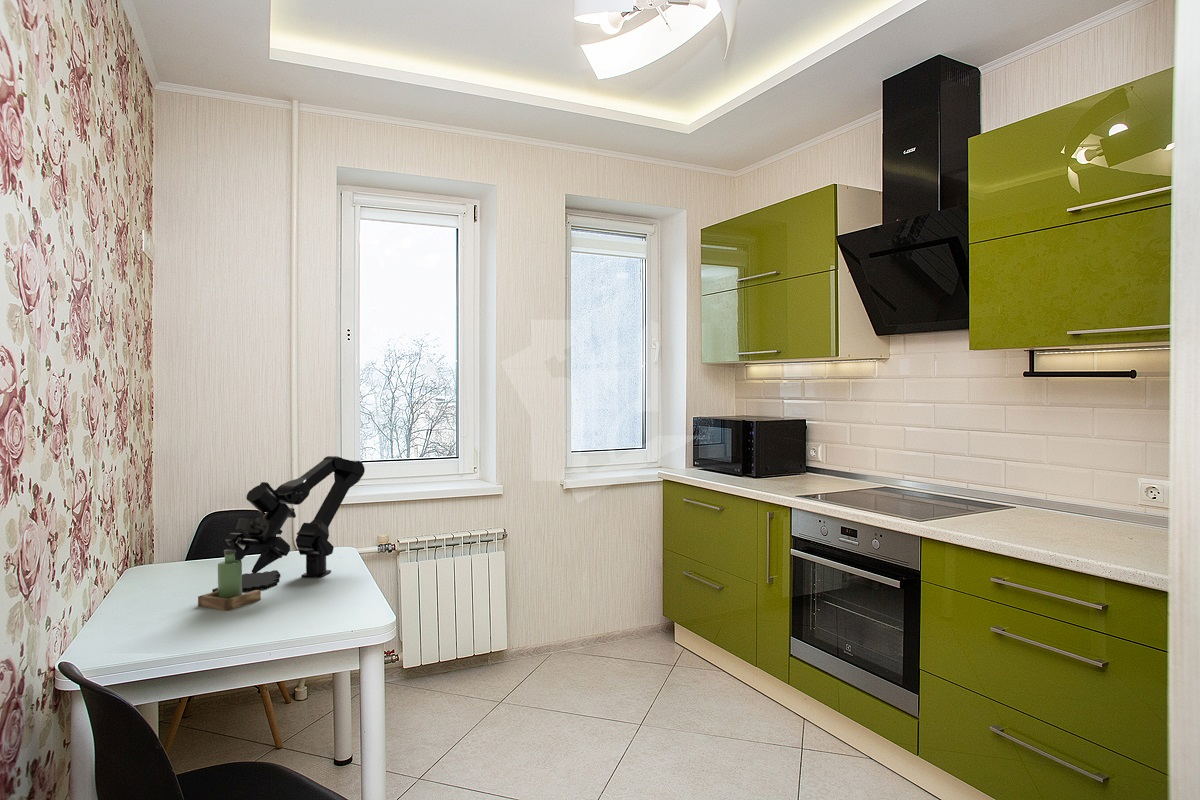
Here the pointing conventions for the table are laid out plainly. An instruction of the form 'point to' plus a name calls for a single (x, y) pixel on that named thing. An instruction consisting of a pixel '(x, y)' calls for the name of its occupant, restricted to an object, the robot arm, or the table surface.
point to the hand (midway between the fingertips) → (240, 571)
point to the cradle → (228, 600)
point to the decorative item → (258, 581)
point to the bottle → (229, 576)
